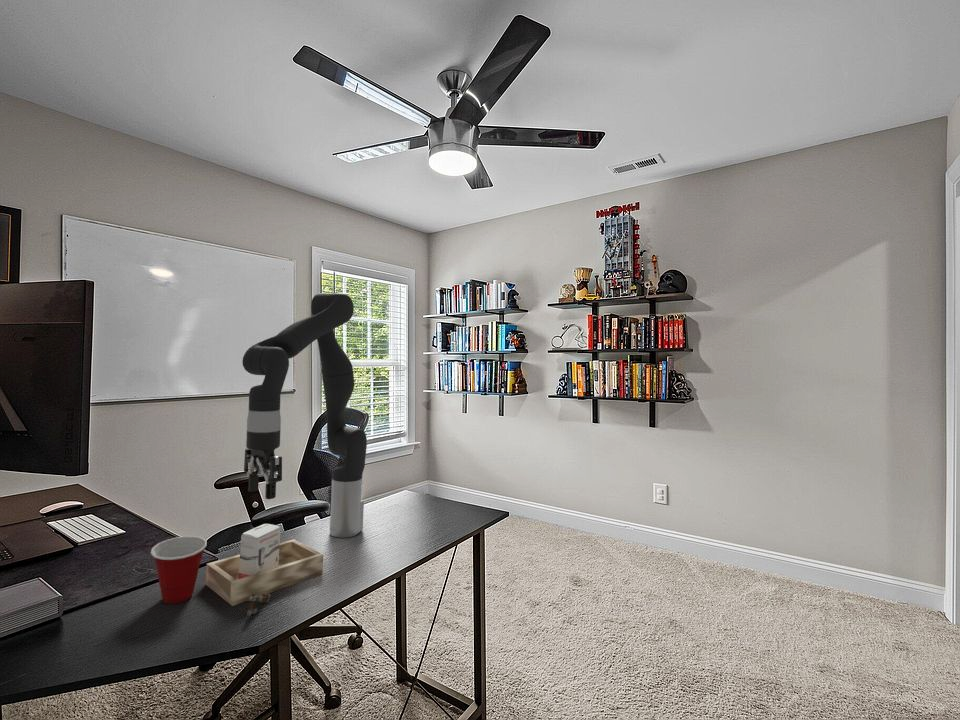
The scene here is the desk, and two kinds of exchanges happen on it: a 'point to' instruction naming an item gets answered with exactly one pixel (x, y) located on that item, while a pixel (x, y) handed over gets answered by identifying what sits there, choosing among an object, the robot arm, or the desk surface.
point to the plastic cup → (178, 566)
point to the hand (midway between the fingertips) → (261, 494)
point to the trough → (264, 573)
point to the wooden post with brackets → (252, 600)
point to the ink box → (259, 550)
